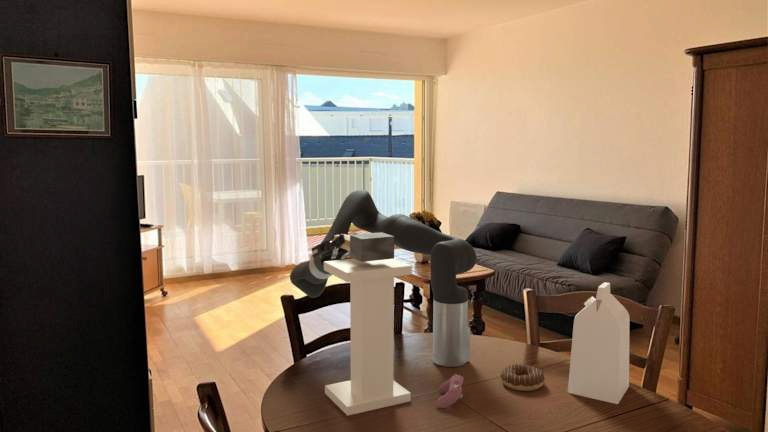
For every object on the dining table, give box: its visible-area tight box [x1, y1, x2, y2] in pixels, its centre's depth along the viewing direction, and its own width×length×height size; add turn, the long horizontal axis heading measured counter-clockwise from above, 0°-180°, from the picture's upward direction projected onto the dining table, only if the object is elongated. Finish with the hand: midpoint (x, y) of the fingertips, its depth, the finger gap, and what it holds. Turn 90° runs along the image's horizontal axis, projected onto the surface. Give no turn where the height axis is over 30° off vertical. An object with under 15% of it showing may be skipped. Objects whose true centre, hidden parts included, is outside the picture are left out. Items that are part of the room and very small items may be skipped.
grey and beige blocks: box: [334, 232, 395, 262], centre depth 143 cm, size 8×21×5 cm, turn 27°
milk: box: [567, 281, 630, 405], centre depth 146 cm, size 12×12×26 cm
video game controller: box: [435, 373, 465, 409], centre depth 141 cm, size 10×5×7 cm, turn 169°
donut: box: [500, 363, 545, 392], centre depth 151 cm, size 11×11×4 cm
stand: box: [324, 258, 413, 416], centre depth 141 cm, size 16×13×32 cm
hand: (349, 237), depth 147 cm, fingers closed on grey and beige blocks, 3 cm apart
